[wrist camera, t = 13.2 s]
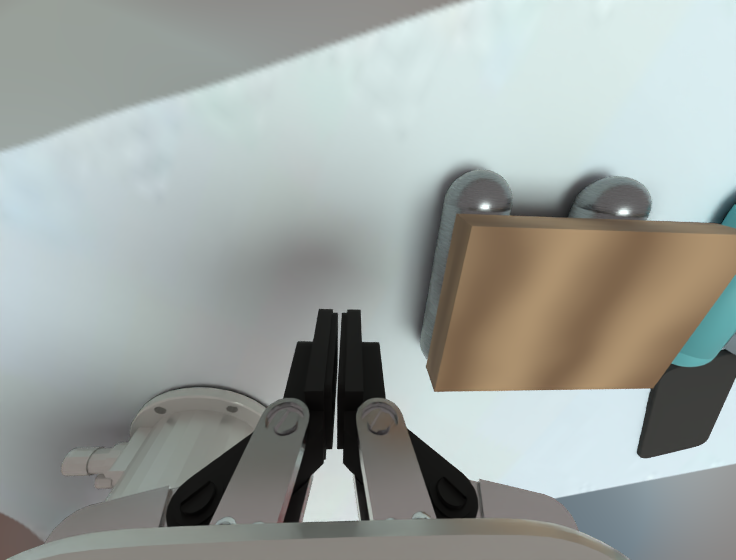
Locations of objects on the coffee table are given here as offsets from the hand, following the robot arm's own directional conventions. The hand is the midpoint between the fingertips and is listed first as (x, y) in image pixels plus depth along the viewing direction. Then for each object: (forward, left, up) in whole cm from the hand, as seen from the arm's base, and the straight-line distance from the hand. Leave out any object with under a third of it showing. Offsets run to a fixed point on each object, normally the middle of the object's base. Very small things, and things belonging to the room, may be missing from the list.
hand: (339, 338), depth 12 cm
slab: (+13, -1, -4) cm, 13 cm away
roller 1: (+8, -1, -8) cm, 11 cm away
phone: (+35, -16, -9) cm, 39 cm away
